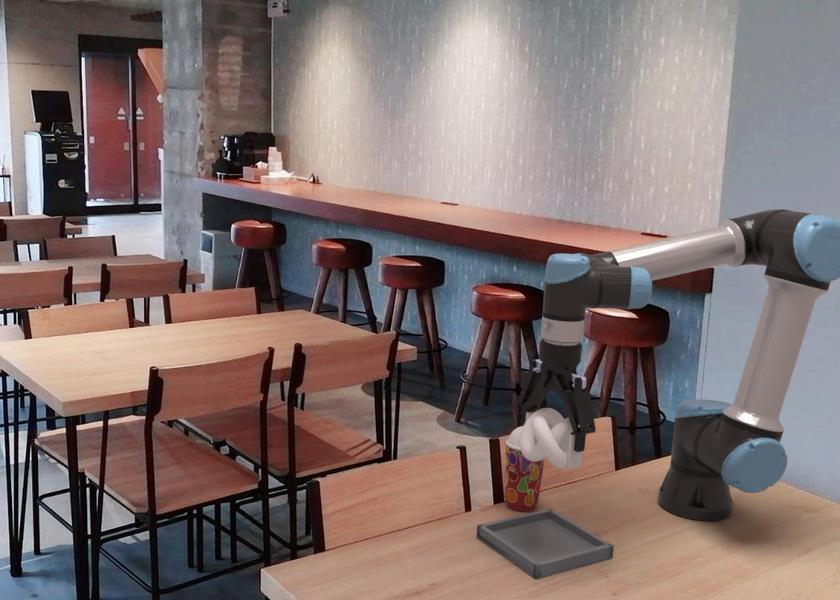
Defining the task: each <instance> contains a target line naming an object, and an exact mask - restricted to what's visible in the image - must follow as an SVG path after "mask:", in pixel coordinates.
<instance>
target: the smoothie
mask: <svg viewBox="0 0 840 600" xmlns="http://www.w3.org/2000/svg"><path fill="white" fill-rule="evenodd" d="M523 426H524V425H522V426H521V425H520V426H518V427H516V428H515V429H513V430H512V432H511V433H510V434H509V436H508V438H506V440H505V476H504V477H505V484H504V485H505V487H504V488H505V491H504V492H505V494H504V495H505V496H504V498H505V501H506V502H507V506H508V507H509V508H511V510H514V509H515V511H517V510H519V512H529V510H530V511H533V510H534V509H535V508H536V505H537V504H538V503H539V498H540V492H541V485H542V484H541V483H542V478H543V471H544V465H545V459H543V460H541V461H536V462H533V461H530V460H528V459H526V458H525V457H524V456H523V454H522V452H521V450H520V445H519V441H520V434H521V431H522V428H523Z"/></svg>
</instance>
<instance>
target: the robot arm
mask: <svg viewBox="0 0 840 600" xmlns="http://www.w3.org/2000/svg"><path fill="white" fill-rule="evenodd" d="M722 265H727V266H730V267H732V268H736V267H740V266H746V265H747V266H748V265H753V266H754V265H756V266H757V265H758V266H765V270H764V275H763V277H764V280H766V283H767V284H768V289H767V294H766V297H765V299H764V303H763V306H762V310H761V313H760V316H759V320H758V323H757V326H756V329H755V333H754V335H753V338H752V342H751V345H750V349H749V351H748V355H747V358H746V362H745V364H744V369H743V372H742V375H741V378H740V381H739V384H738V388H737V391H736V394H735V397H734V401H733V403H730V402H726V401H721V400H712V399H701V398H700V399H687V400H683V401H681V402H680V403H678V405H677V407H676V410H675V414H674V424H673V425H674V426H673V427H674V428H673V437H672V445H671V446H672V447H671V453H670V454H671V456H670V465H669V469H668V470H667V472H666V474H665V477H664V479H663V481H662V483H661V486H660V487H659V490H658V496H657V502H658V504H659V505H660V507H661V508H662V509H664V510H666V511H667V512H669V513H670V514H674V515H675V516H679V517H681V518H686V519H689V520H695V521H705V522H706V521H708V522H714V521H715V522H716V521H721V520H725V519H728V518H729V517H730V516H732V513H733V506H734V504H733V502H734V501H733V499H732V496H731V489H730V487H732V488H735V489H737V490H739V491H741V492H743V493H748V494H758V493H760V492H762V493H763V492H764V491H766V490H768V488H770V487H773V486H775V485H776V484H777V483H778V482H779V481H780V480H781V478H782V477H783V475H784V474H785V472H786V469H787V466H788V454H787V453H786V449H785V447H784V445H783V444H782V443H781V441H782V437H783V433H784V432H785V427H784V425H783V424H782V423H781V421H780V415H781V412H782V408H783V407H784V402H785V399H786V396H787V393H788V389H789V387H790V384H791V383H790V382H791V380H792V377H793V374H794V371H795V367H796V364H797V362H798V358H799V354H800V352H801V347H802V344H803V342H804V338H805V336H806V332H807V330H808V329H807V328H808V326H809V323H810V319H811V316H812V313H813V310H814V308H815V304H816V301H817V299H818V298H819V297H822V296H823V295H826V294H827V293H828V292H829V288H830V285H831V283H832V282H834V281H836V280H838V279H840V221H839V220H837V219H835V218H831V217H829V216H826V215H823V214H816V213H809V212H801V211H794V210H790V209H785V208H784V209H783V208H780V209H770V210H764V211H758V212H754V213H750V214H746V215H741V216H738V217H734V218H729V219H725V220H723V221H721V222H720V223H719V224H718V226H717V227H711V228H708V229H703V230H699V231H698V230H697V231H694V232H690V233H689V232H688V233H685V234H681V235H677V236H676V235H675V236H672V237H668V238H663V239H657V240H654V241H650V242H648V241H647V242H644V243H640V244H636V245H631V246H627V247H622V248H618V249H614V250H609V251H604V252H599V253H595V254H590V255H589V254H587V253H579V252H578V253H554V254H551V255H549V257H548V259H547V263H546V266H545V271H544V278H543V282H544V286H543V300H542V301H543V303H542V304H543V305H542V312H541V313H542V314H541V315H542V317H541V327H540V328H541V330H540V337H541V338H542V339H541V340H540V341H539V347H538V348H539V349H538V350H539V351H538V359H531V360H529V364H528V365H529V367H528V372H527V375H526V377H525V381H524V383H523V385H522V389H521V391H520V394H519V396H518V399H517V404H518V405H519V406H522V409H523V411H524V421H523V425H524V424H525V422H526V421H527V419H528V418H529V417H530V416H531V415H532V414H533V413H534V412H536V411H537V410H539V409H541V408H540V405H541V404H542V402H543V401H544V400H545V398H546V397H547V395H548V394H549V392H550V391H553V392H555V393H556V394H558V395H559V398H560V399H561V400H562V402H563V404H564V408H565V411H566V414H567V418H569V420H570V423H571V426H572V429H573V432H571V433H570V435H569V447H568V458H567V468H566V469H568V470H571V469H572V470H573V469H577V468H581V467H582V459H583V452H584V451H585V449H586V448H585V447H586V446H585V445H586V437H587V435H589V434H594V433H595V432H596V430H597V428H596V423H595V416H594V411H593V405H592V400H591V395H590V394H591V392H590V383H591V382H590V377H589V376H588V375H587V376H580V375H578V372H577V371H578V370H577V368H578V366H579V364H581V362H582V361H581V360H582V354H583V352H582V351H583V344H582V343H581V342H582V341H583V340H584V333H585V332H584V330H585V329H584V328H585V318H586V310H587V309H591V310H592V309H620V310H622V309H623V310H627V311H628V310H631V309H642V308H644V307H645V306H647V305H648V303H649V302H650V300H651V299H652V298H651V297H652V293H653V281H655V280H661V279H666V278H669V277H675V276H679V275H683V274H688V273H692V272H695V271H696V272H697V271H701V270H705V269H709V268H713V267H718V266H722ZM578 425H580V427H578ZM536 444H538V441H537V439H536Z"/></svg>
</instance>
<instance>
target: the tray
mask: <svg viewBox="0 0 840 600" xmlns="http://www.w3.org/2000/svg"><path fill="white" fill-rule="evenodd" d="M476 538H477V540H479V541H481V543H484V544H486V546H488V547H489V548H491V549H492V548H493V550H494V551H495V550H496V551H495V552H496V553H498V554H499V553H500V555H501V556H502V555H503V556H502V557H504V558H505V559H506V560H508V561H509V560H510V561H509V562H511V563H512V562H513V563H512V564H514V565H515V564H516V565H517V566H516V565H515V566H516V567H518V568H519V567H520V569H521V570H522V571H524V572H525V573H526V574H528V575H529V576H531V577H532V578H534V579H535V580H539V579H542V578H546V577H549V576H553V575H556V574H560V573H564V572H567V571H571V570H574V569H577V568H582V567H586V566H591V565H592V564H597V563H600V562H604V561H608V560H610V559H613V556H614V550H615V549H614V548H615V545H614V544H612V543H611V542H609V541H607V540H605V539H604V538H601V537H600V536H599V535H597V534H595V533H594V532H591V531H590V530H588V529H587V528H585V527H583V526H581V525H579V524H578V523H576V522H575V521H573V520H571V519H570V518H568V517H566V516H564V515H562V514H561V513H559V512H557V511H556V510H554V509H553V508H547V509H543V510H538V511H533V512H529V513H525V514H520V515H516V516H515V515H514V516H512V517H511V516H510V517H507V518H503V519H498V520H495V521H494V520H493V521H489V522H485V523H480V524H477V526H476Z"/></svg>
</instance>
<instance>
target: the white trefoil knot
mask: <svg viewBox="0 0 840 600" xmlns="http://www.w3.org/2000/svg"><path fill="white" fill-rule="evenodd" d="M535 411H536V412H534V413H533V414H532V415H531V416H530V417H529V418H528V419H527V421H526V422H525V424H524V423H523V425H522V426H523V428H522V431H521V434H520V441H519V445H520V450H521V452H522V454H523V456H524V457H525V458H526V459H528V460H530V461H533V462H536V461H541V460H543V459H544V460H545V459H547V460H548V462H550V464H551V465H552V466H553V467H555V468H557V469H559V470H563V469H568V468H567V458H568V447H569V435H570V433H571V432H573V429H572V426H571V423H570V420H569V417H566V418H564V417H563V415H562V414H561V413H560V412H558V410H555V408H551V407H543V408H540V409H538V410H535ZM578 427H580V425H578ZM536 439H537V441H538V444H536Z"/></svg>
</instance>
